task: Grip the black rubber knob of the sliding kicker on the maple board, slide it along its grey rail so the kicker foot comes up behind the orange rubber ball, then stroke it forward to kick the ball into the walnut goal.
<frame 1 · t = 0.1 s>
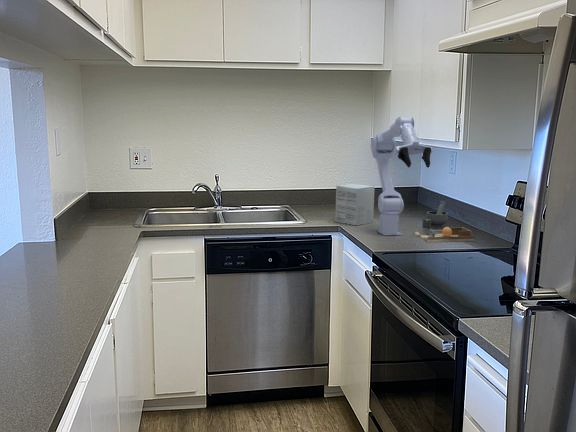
hand: (419, 165, 218), 32 cm above the worktop, tool tilted 50°, fingers open, 7 cm apart
supplement box: (354, 222, 275), on the worktop
pitch: (442, 237, 244), on the worktop
mortar and pestle: (437, 227, 266), on the worktop
ball: (446, 231, 241), point 3 cm above the worktop, touching pitch
kicker: (429, 227, 243), point 4 cm above the worktop, slide at 0.0 cm
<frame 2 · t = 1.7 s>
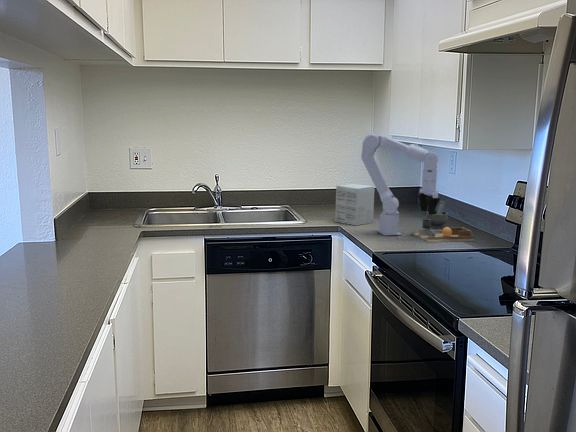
hand: (427, 212, 245), 10 cm above the worktop, tool pointing down, fingers open, 7 cm apart
nothing on the worktop moved.
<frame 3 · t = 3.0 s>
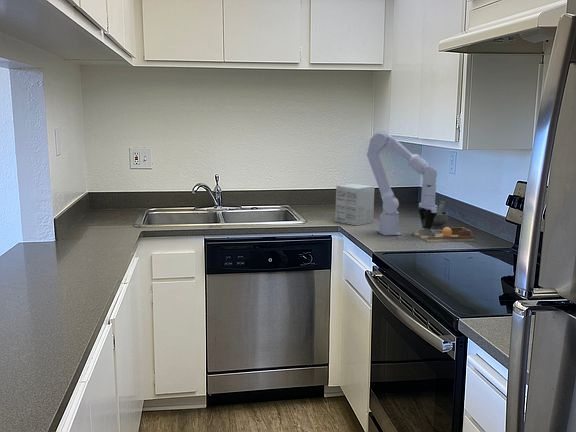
hand: (426, 226, 246), 4 cm above the worktop, tool pointing down, fingers closed on kicker, 3 cm apart
kicker: (429, 227, 243), point 4 cm above the worktop, slide at 0.0 cm, touching gripper
everything else where it was.
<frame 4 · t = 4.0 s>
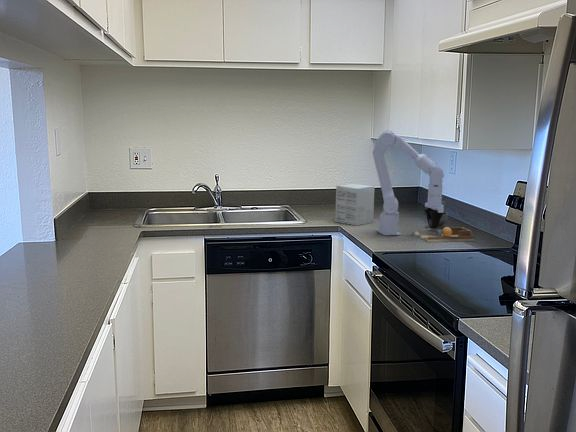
hand: (432, 226, 246), 4 cm above the worktop, tool pointing down, fingers closed on kicker, 3 cm apart
kicker: (435, 227, 243), point 4 cm above the worktop, slide at 2.8 cm, touching gripper
everything else where it was.
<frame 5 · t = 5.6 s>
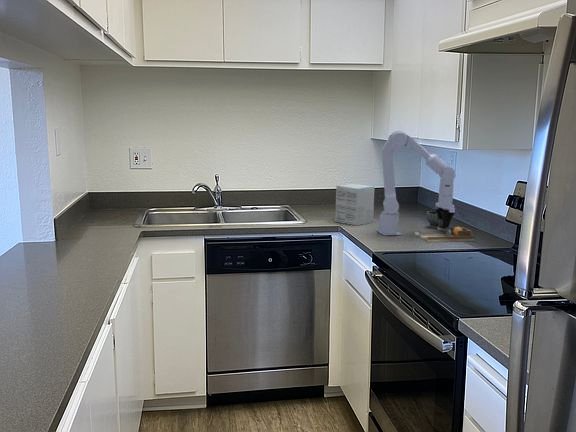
hand: (443, 226, 247), 4 cm above the worktop, tool pointing down, fingers closed on kicker, 3 cm apart
ball: (457, 231, 242), point 3 cm above the worktop, tilted 136°, touching pitch
kicker: (445, 227, 244), point 4 cm above the worktop, slide at 7.3 cm, touching gripper
everything else where it was.
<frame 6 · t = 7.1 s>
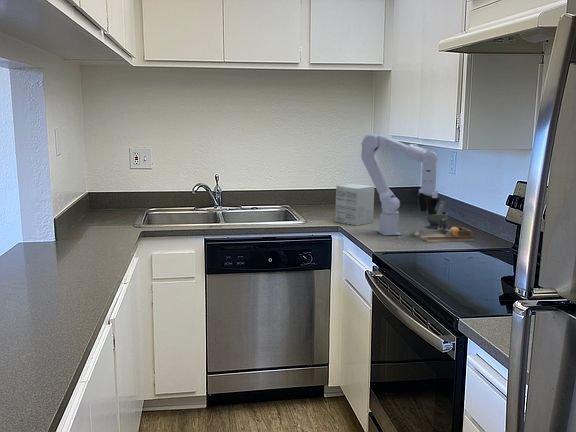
hand: (426, 212, 243), 10 cm above the worktop, tool pointing down, fingers open, 7 cm apart
ball: (454, 231, 242), point 3 cm above the worktop, tilted 93°, touching pitch
kicker: (445, 227, 244), point 4 cm above the worktop, slide at 7.3 cm
everything else where it was.
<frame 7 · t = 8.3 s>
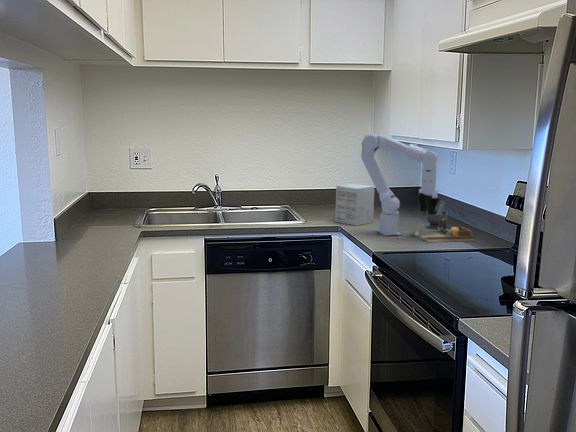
hand: (426, 212, 243), 10 cm above the worktop, tool pointing down, fingers open, 7 cm apart
nothing on the worktop moved.
at the end: ball 2.2 cm from the target spot on the pitch, point 3.0 cm above the pitch's base; kicker slide at 7.3 cm; the gripper is holding nothing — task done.
